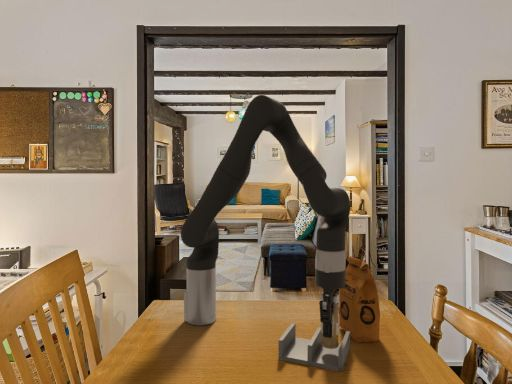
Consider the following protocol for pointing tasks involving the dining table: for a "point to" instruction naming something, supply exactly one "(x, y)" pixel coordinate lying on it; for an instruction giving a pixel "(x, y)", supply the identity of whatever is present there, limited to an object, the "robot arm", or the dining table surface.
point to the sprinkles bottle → (332, 341)
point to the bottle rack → (313, 350)
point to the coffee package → (359, 303)
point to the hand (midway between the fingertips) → (329, 332)
